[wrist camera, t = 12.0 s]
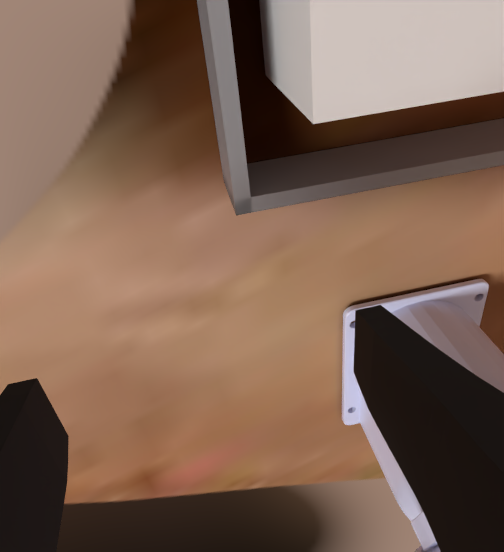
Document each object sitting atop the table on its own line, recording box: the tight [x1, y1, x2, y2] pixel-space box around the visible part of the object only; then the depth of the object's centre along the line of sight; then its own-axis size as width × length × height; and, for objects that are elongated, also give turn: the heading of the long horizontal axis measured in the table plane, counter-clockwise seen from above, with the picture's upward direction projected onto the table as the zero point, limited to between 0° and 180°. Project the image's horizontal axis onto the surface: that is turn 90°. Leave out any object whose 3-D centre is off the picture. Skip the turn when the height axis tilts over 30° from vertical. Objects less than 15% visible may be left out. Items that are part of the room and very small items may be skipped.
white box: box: [259, 0, 504, 124], centre depth 14 cm, size 4×6×6 cm
